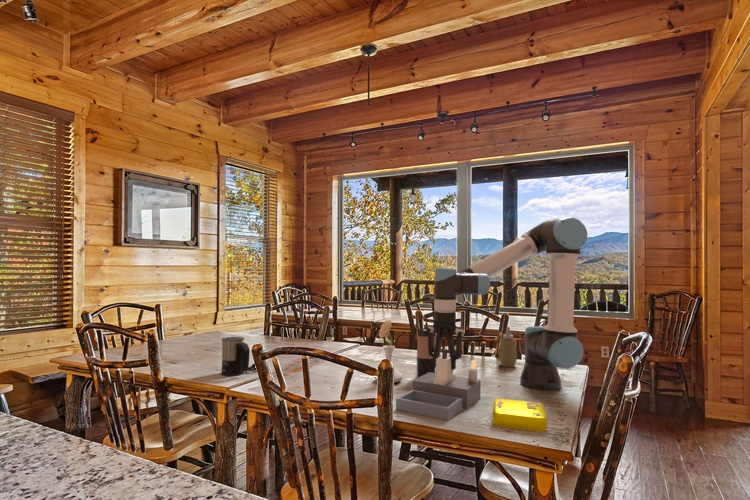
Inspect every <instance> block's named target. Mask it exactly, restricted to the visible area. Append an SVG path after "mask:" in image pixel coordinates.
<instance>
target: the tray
mask: <svg viewBox="0 0 750 500" xmlns="http://www.w3.org/2000/svg"><path fill="white" fill-rule="evenodd" d="M396 409H399V410H398V411H401V410H404V411H403V412H406V411H409V412H408V413H411V412H413V413H412V414H415V413H418V414H417V415H420V414H422V416H425V415H426V417H430V418H434V417H435V418H434V419H438V420H439V419H440V420H444V421H450V420H451V419H453V418H454V417H455V416H456V415H457V414H458V413H459V412H461V411H462V410H463V407H462V398H457V397H451V396H446V395H440V394H435V393H429V392H423V391H418V390H412V389H411V390H409V391H408V392H405V393H404V394H402V395H400V396H398V397H396V399H395V410H396Z"/></svg>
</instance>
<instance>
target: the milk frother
mask: <svg viewBox="0 0 750 500" xmlns="http://www.w3.org/2000/svg"><path fill="white" fill-rule="evenodd" d="M244 340H245V337H243V336H228V337H223V338H221V372H220V375H221V376H225V377H226V376H227V377H234V376H235V377H236V376H240V375H243V374H244V373H245V372H246V371H249V370H250V371H251V370H252V369H253V370H254V371H255V370H256V369H255V364H254V363H252V364H251V365H250V353H251V351H250V350H251V349H250V347H249V345H248V344H247V343H246V342H245V341H244Z"/></svg>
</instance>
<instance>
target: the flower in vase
mask: <svg viewBox="0 0 750 500" xmlns="http://www.w3.org/2000/svg"><path fill="white" fill-rule="evenodd" d="M391 328H392V321H391V320H390V319H386V320H385V321H384V322H383V323H382V324H381V326H380V329H379V333H378V337H379V338H380V339H383V338H385V339H384V340H385V342H387V344H388V345H382V348H383V350H384V354H385V360H386V359H389V360H390V361H391V362H392V358H393V352H394V349H395V348H396V346H395V345H393V339H392V336H391V333H390V330H391ZM387 334H388V335H389V338H390V339H389V338H388V336H387ZM373 378H374V379H375V380H376V381H377V378H376V377H373ZM402 379H403V375H402V373H401V372H400V371H398V370H397V369H396V368H395V367H394V384H395V383H397V382H400V381H402Z"/></svg>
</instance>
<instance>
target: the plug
mask: <svg viewBox="0 0 750 500" xmlns="http://www.w3.org/2000/svg"><path fill="white" fill-rule="evenodd" d="M450 359H451V358H450V356H448V349H446V348H442V349H441V356H439V357H438V358H437V373H436V372H435V373H436V378H434V379H433V384H439V385H445V384H447V383H450V382H452V380H453V379H455V376H456V375H457V374H456V373H453V378H452V379H451V380H450V379H448V371H449V360H450ZM456 377H457V376H456Z"/></svg>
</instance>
